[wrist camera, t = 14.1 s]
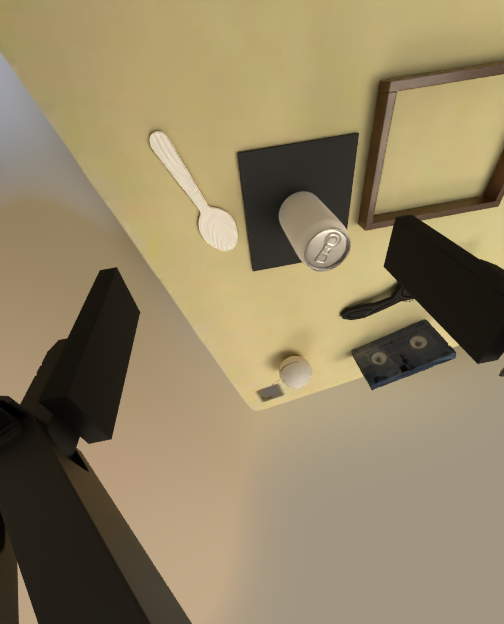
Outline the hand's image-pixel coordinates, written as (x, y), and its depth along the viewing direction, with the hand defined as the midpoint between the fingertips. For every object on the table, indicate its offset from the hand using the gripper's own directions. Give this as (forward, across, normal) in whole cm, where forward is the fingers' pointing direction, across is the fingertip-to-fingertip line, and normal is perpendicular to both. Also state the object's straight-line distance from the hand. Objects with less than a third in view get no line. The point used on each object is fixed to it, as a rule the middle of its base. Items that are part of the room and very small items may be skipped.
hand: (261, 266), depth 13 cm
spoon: (+29, -4, -6) cm, 30 cm away
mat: (+29, +10, -10) cm, 32 cm away
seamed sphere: (+29, +7, -46) cm, 55 cm away
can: (+28, +10, -10) cm, 32 cm away
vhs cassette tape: (+29, +32, -45) cm, 62 cm away
